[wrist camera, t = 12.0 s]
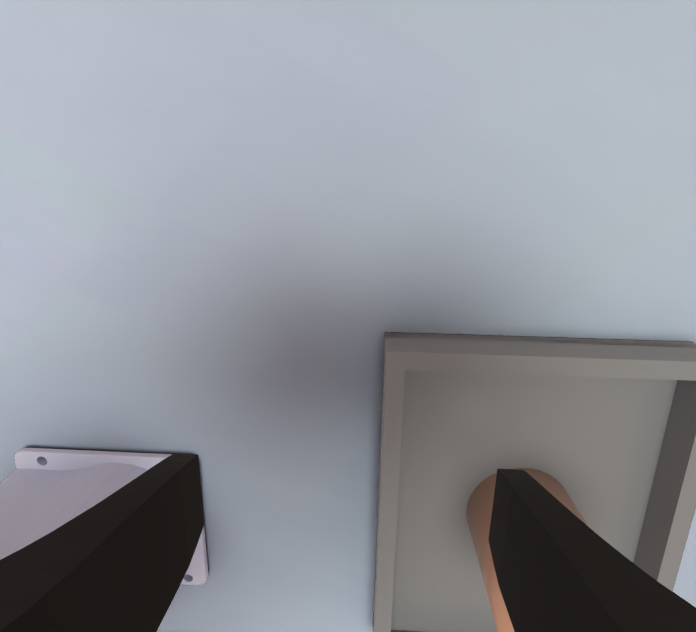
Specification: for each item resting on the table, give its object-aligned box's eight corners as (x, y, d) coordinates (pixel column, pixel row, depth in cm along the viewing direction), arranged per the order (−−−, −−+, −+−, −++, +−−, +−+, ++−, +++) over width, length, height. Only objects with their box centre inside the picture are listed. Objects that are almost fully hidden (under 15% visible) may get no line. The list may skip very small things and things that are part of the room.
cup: (462, 551, 22) (508, 740, 15) (470, 465, 21) (525, 623, 13) (563, 556, 22) (663, 752, 14) (578, 470, 21) (698, 634, 13)
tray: (372, 625, 25) (372, 671, 23) (384, 332, 20) (386, 351, 18) (618, 641, 25) (645, 690, 22) (691, 341, 20) (735, 363, 17)
